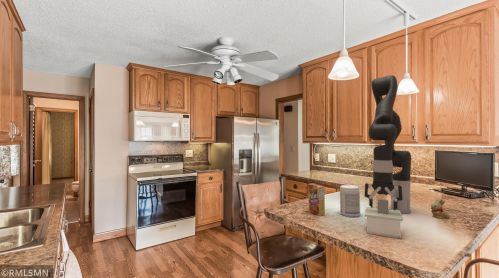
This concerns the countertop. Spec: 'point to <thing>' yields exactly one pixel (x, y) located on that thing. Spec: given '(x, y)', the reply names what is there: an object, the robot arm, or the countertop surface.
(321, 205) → the candy box
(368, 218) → the storage box
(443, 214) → the chocolate bunny
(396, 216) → the lid
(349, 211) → the supplement tub
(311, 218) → the countertop surface
